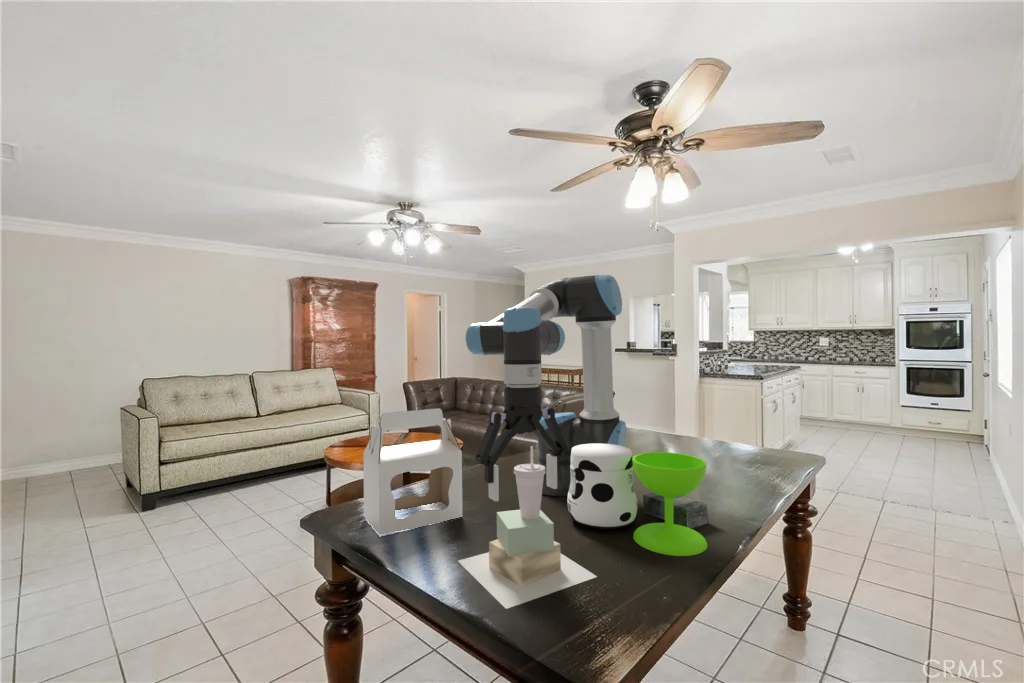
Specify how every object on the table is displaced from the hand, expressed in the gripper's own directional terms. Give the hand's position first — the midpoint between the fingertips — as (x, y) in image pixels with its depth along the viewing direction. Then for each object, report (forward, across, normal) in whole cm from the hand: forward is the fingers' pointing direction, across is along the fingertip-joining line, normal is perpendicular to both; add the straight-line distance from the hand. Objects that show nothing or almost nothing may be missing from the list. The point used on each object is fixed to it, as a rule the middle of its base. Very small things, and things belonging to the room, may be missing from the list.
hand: (523, 493), depth 89 cm
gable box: (+16, -10, +38) cm, 42 cm away
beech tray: (+15, 0, 0) cm, 15 cm away
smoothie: (+5, +1, 0) cm, 5 cm away
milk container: (+16, +30, +11) cm, 36 cm away
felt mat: (+15, 0, 0) cm, 15 cm away
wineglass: (+15, +35, -5) cm, 39 cm away
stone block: (+16, +48, +3) cm, 50 cm away
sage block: (+10, 0, 0) cm, 10 cm away
